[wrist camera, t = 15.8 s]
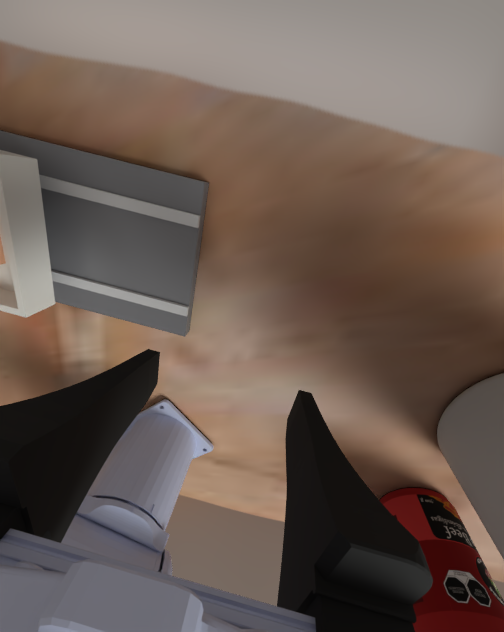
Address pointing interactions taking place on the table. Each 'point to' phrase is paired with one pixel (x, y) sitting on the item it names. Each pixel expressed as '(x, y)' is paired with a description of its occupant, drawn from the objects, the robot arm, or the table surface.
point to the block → (2, 254)
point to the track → (119, 234)
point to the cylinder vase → (478, 450)
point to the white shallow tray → (23, 238)
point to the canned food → (447, 566)
